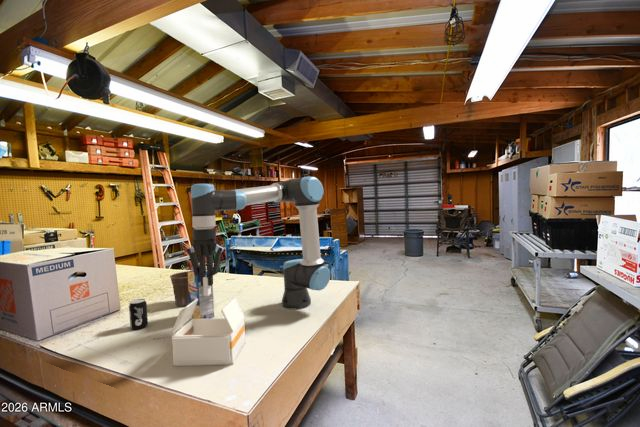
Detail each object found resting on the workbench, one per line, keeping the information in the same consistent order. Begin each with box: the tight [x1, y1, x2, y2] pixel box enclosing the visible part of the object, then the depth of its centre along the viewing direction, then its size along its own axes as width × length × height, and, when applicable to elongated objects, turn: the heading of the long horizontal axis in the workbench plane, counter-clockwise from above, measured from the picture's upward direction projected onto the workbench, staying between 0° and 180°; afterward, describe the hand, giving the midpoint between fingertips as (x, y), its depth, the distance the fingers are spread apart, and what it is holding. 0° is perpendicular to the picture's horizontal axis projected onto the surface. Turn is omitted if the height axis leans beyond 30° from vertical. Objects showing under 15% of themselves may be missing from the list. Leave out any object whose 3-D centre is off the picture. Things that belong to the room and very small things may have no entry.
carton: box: [171, 316, 246, 367], centre depth 100 cm, size 20×16×10 cm
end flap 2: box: [221, 296, 245, 332], centre depth 99 cm, size 1×12×8 cm, turn 179°
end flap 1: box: [171, 299, 198, 334], centre depth 99 cm, size 1×12×8 cm, turn 177°
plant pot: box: [169, 270, 189, 307], centre depth 154 cm, size 16×16×16 cm
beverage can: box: [128, 298, 149, 331], centre depth 125 cm, size 7×7×12 cm
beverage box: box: [187, 269, 215, 319], centre depth 134 cm, size 7×11×22 cm, turn 48°
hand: (207, 294), depth 99 cm, fingers closed
